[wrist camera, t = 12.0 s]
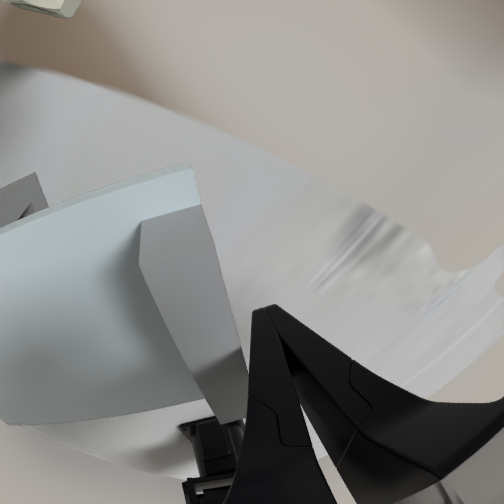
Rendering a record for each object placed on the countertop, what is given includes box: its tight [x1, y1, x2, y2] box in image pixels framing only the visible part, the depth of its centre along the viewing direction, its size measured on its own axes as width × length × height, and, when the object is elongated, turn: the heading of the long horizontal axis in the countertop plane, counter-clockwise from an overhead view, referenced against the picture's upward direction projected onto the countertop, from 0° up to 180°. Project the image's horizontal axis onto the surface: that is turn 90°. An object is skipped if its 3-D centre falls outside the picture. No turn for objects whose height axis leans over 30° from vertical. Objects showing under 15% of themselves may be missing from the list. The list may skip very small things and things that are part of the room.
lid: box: [0, 162, 249, 425], centre depth 8 cm, size 10×14×3 cm
